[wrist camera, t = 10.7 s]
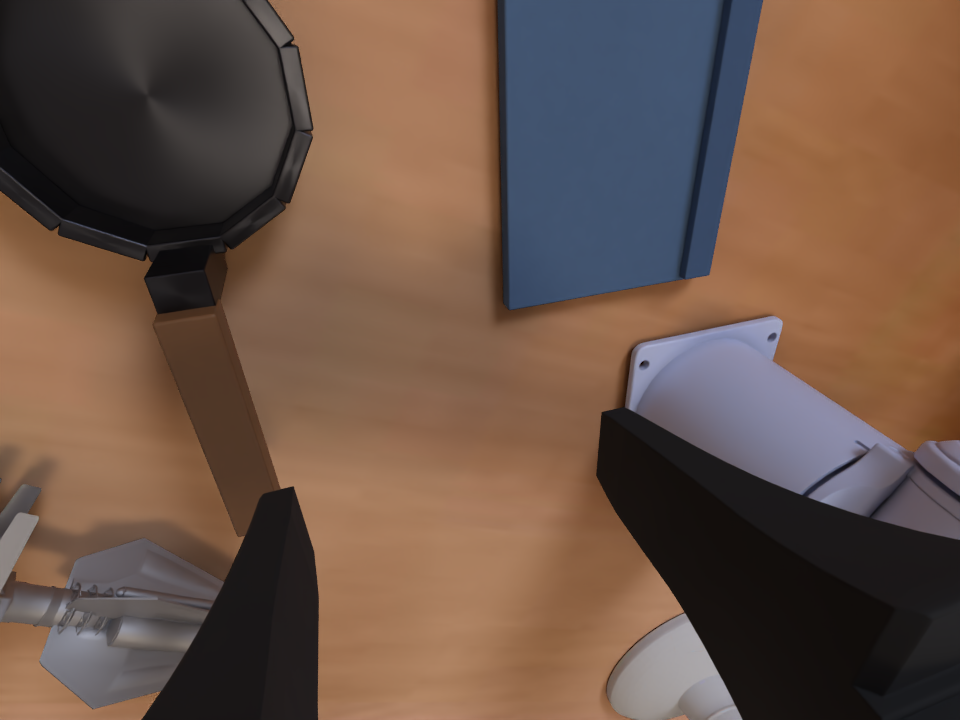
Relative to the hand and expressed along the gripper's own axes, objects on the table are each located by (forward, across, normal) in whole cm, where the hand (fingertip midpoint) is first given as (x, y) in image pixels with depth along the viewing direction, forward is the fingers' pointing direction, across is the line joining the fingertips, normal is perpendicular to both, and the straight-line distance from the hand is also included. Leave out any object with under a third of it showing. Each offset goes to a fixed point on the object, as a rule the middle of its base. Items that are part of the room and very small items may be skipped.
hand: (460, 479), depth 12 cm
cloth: (+9, -9, -6) cm, 14 cm away
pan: (+9, +6, -3) cm, 11 cm away
